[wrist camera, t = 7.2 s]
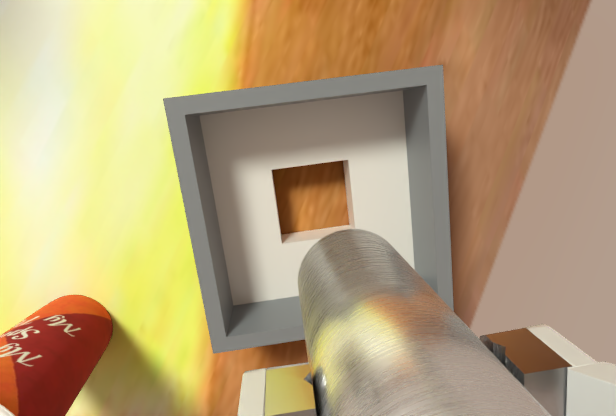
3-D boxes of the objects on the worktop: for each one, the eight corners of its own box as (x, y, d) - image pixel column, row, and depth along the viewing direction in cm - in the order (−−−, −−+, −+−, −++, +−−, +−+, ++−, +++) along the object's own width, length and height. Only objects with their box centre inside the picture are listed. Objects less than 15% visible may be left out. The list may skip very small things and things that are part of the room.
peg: (291, 237, 14) (359, 735, 3) (399, 221, 15) (894, 623, 3) (304, 336, 15) (400, 1032, 4) (406, 320, 16) (808, 930, 4)
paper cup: (93, 265, 31) (-49, 380, 17) (145, 344, 33) (52, 504, 19) (4, 308, 31) (-206, 454, 18) (60, 384, 33) (-92, 571, 19)
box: (189, 103, 29) (163, 98, 22) (404, 77, 30) (442, 64, 23) (226, 304, 33) (213, 353, 26) (417, 276, 33) (453, 316, 27)
